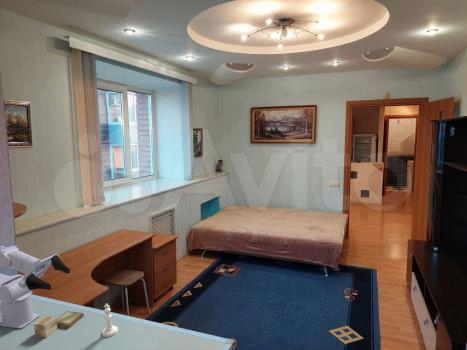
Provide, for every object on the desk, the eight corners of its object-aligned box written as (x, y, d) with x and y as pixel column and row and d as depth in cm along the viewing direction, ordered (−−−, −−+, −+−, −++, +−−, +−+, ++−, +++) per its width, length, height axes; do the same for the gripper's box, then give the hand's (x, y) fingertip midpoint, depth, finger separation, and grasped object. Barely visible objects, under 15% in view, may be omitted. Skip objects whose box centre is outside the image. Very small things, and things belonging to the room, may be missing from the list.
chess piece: (112, 337, 101) (109, 308, 100) (98, 336, 102) (95, 307, 101) (120, 328, 106) (117, 300, 105) (107, 327, 107) (104, 299, 106)
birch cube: (35, 336, 104) (33, 324, 103) (46, 328, 108) (44, 316, 108) (46, 338, 103) (44, 325, 102) (57, 329, 107) (55, 317, 107)
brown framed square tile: (52, 325, 109) (51, 322, 109) (67, 314, 116) (67, 311, 116) (69, 328, 108) (68, 324, 107) (83, 316, 114) (83, 312, 114)
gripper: (5, 270, 100) (38, 286, 96) (44, 242, 112) (74, 255, 108) (10, 286, 103) (42, 301, 100) (47, 257, 115) (77, 270, 112)
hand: (59, 278), depth 104 cm, fingers open, 7 cm apart
